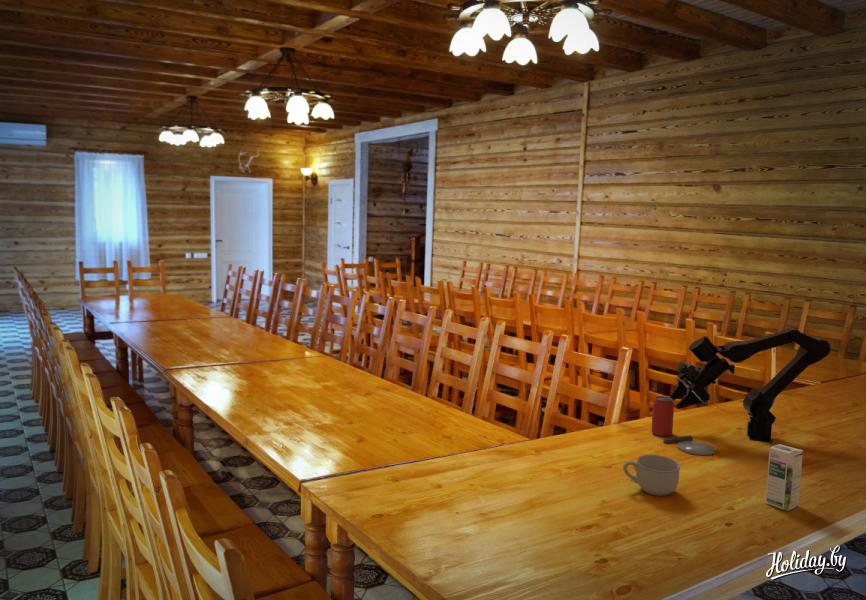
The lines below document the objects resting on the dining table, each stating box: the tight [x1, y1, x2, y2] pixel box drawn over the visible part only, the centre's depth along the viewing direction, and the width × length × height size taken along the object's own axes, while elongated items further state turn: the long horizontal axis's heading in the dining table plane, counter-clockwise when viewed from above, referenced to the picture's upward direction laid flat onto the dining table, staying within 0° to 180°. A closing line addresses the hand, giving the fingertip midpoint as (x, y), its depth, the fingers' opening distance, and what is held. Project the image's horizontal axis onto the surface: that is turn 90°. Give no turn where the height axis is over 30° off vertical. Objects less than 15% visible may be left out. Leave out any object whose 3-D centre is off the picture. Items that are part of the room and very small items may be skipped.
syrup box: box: [764, 443, 804, 512], centre depth 163 cm, size 6×6×14 cm
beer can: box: [651, 395, 675, 437], centre depth 218 cm, size 7×7×12 cm
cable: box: [662, 434, 694, 445], centre depth 211 cm, size 11×2×2 cm, turn 111°
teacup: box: [622, 453, 681, 497], centre depth 172 cm, size 14×11×8 cm
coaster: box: [676, 440, 717, 456], centre depth 204 cm, size 11×11×1 cm
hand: (673, 403), depth 217 cm, fingers open, 9 cm apart
